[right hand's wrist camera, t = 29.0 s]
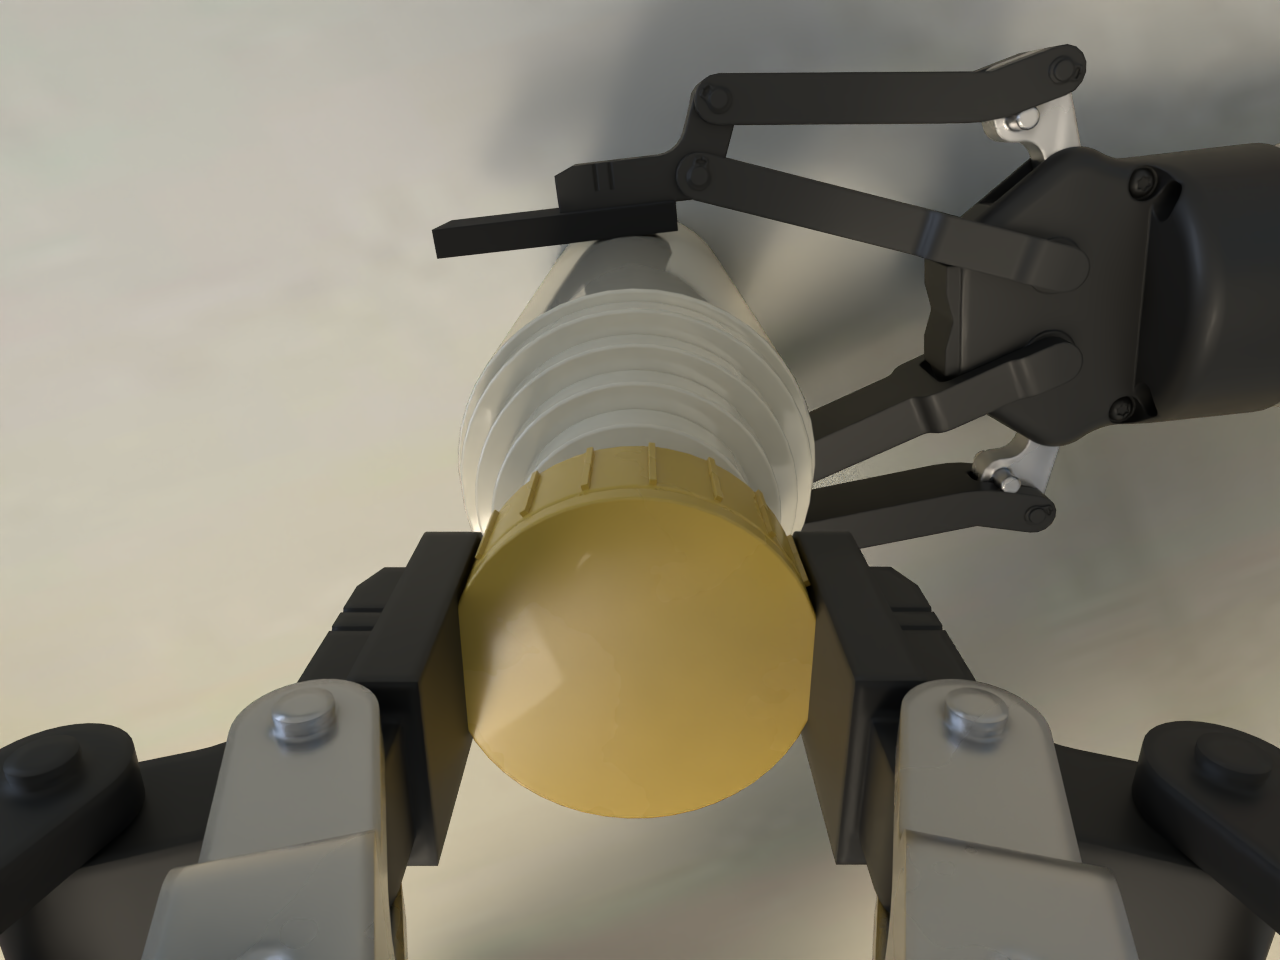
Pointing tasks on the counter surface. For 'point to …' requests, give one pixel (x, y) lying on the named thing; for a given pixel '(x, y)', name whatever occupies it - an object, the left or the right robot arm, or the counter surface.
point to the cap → (636, 634)
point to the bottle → (637, 377)
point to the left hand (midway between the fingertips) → (470, 367)
